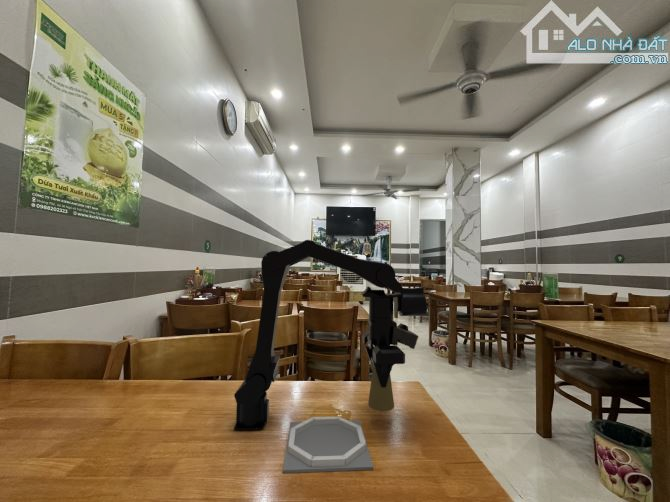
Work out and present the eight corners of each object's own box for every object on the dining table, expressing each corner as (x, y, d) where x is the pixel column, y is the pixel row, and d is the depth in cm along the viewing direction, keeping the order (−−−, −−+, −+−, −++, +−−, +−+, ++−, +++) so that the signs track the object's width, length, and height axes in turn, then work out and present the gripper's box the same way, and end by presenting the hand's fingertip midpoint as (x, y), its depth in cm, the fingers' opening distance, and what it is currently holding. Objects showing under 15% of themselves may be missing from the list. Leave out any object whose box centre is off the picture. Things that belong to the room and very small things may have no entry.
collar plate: (282, 473, 51) (282, 463, 51) (290, 424, 67) (290, 416, 67) (373, 469, 52) (373, 459, 52) (359, 422, 68) (359, 414, 68)
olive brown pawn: (394, 412, 65) (394, 362, 66) (367, 409, 66) (367, 360, 67) (394, 400, 71) (394, 354, 72) (369, 398, 72) (369, 352, 73)
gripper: (429, 323, 61) (429, 400, 60) (402, 310, 80) (403, 368, 79) (376, 323, 60) (376, 401, 60) (362, 310, 79) (361, 369, 78)
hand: (381, 382), depth 69 cm, fingers closed on olive brown pawn, 5 cm apart
